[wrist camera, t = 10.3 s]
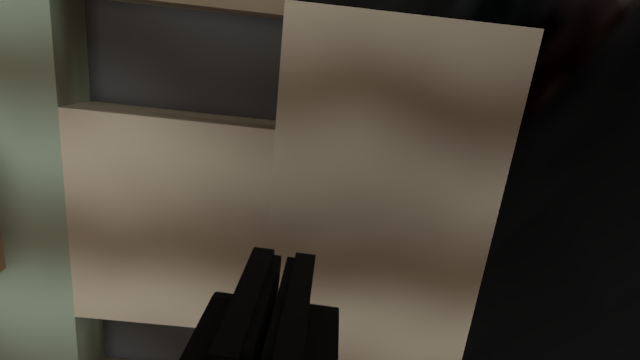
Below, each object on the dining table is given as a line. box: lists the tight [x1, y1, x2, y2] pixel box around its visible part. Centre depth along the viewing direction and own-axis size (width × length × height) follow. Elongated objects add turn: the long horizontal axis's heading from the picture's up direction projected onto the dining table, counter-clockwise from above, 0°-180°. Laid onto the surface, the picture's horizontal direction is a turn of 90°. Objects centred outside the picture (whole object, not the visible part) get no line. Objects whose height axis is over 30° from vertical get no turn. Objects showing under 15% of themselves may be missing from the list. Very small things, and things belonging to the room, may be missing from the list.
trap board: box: [0, 0, 544, 360], centre depth 17 cm, size 18×26×4 cm
